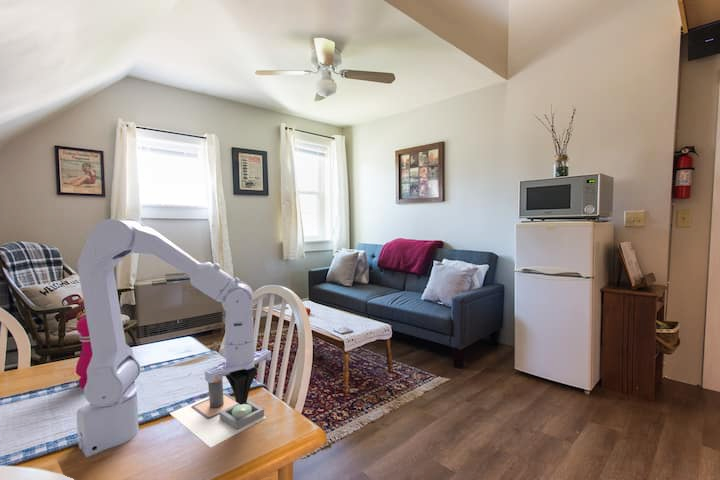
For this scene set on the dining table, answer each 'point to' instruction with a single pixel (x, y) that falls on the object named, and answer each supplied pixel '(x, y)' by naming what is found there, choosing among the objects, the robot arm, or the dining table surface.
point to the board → (216, 419)
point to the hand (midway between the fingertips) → (241, 401)
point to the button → (241, 411)
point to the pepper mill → (83, 351)
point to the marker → (216, 393)
